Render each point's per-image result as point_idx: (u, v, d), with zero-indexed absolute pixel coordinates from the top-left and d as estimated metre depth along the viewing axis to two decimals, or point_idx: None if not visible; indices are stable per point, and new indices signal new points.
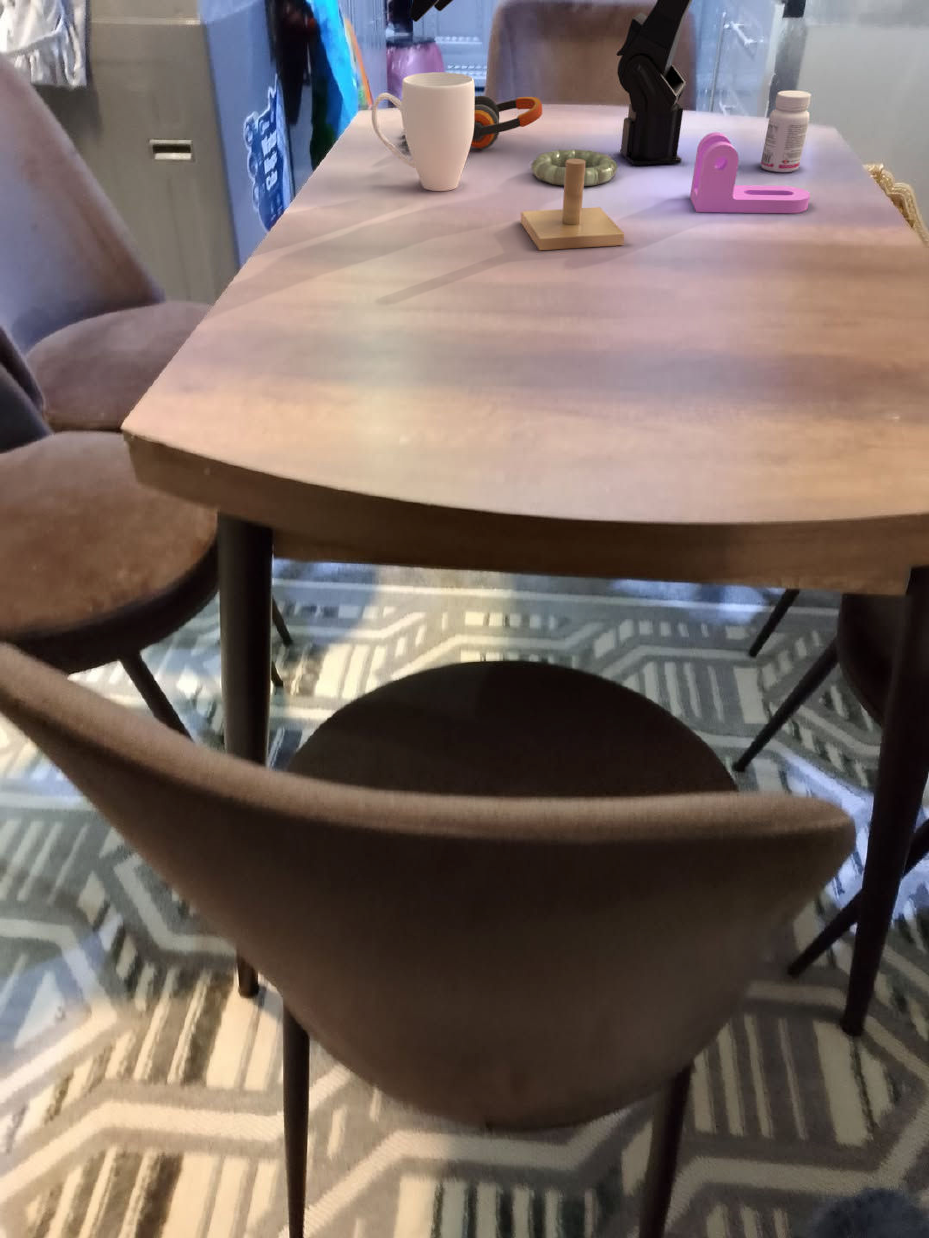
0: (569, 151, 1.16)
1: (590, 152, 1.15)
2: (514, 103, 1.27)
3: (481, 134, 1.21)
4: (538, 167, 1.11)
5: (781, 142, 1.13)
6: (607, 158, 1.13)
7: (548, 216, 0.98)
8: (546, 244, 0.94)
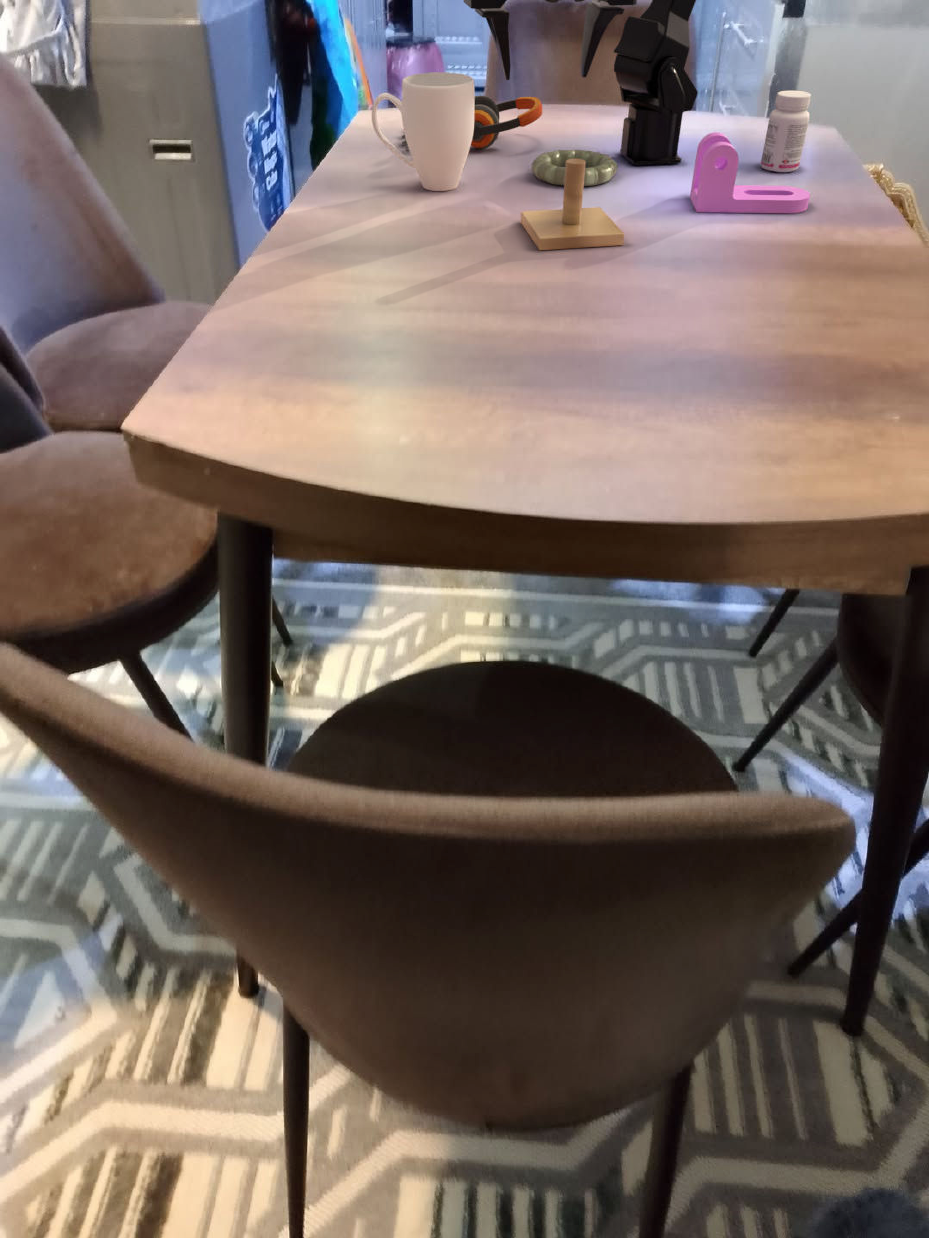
0: (569, 151, 1.16)
1: (590, 152, 1.15)
2: (514, 103, 1.27)
3: (481, 134, 1.21)
4: (538, 167, 1.11)
5: (781, 142, 1.13)
6: (607, 158, 1.13)
7: (548, 216, 0.98)
8: (546, 244, 0.94)
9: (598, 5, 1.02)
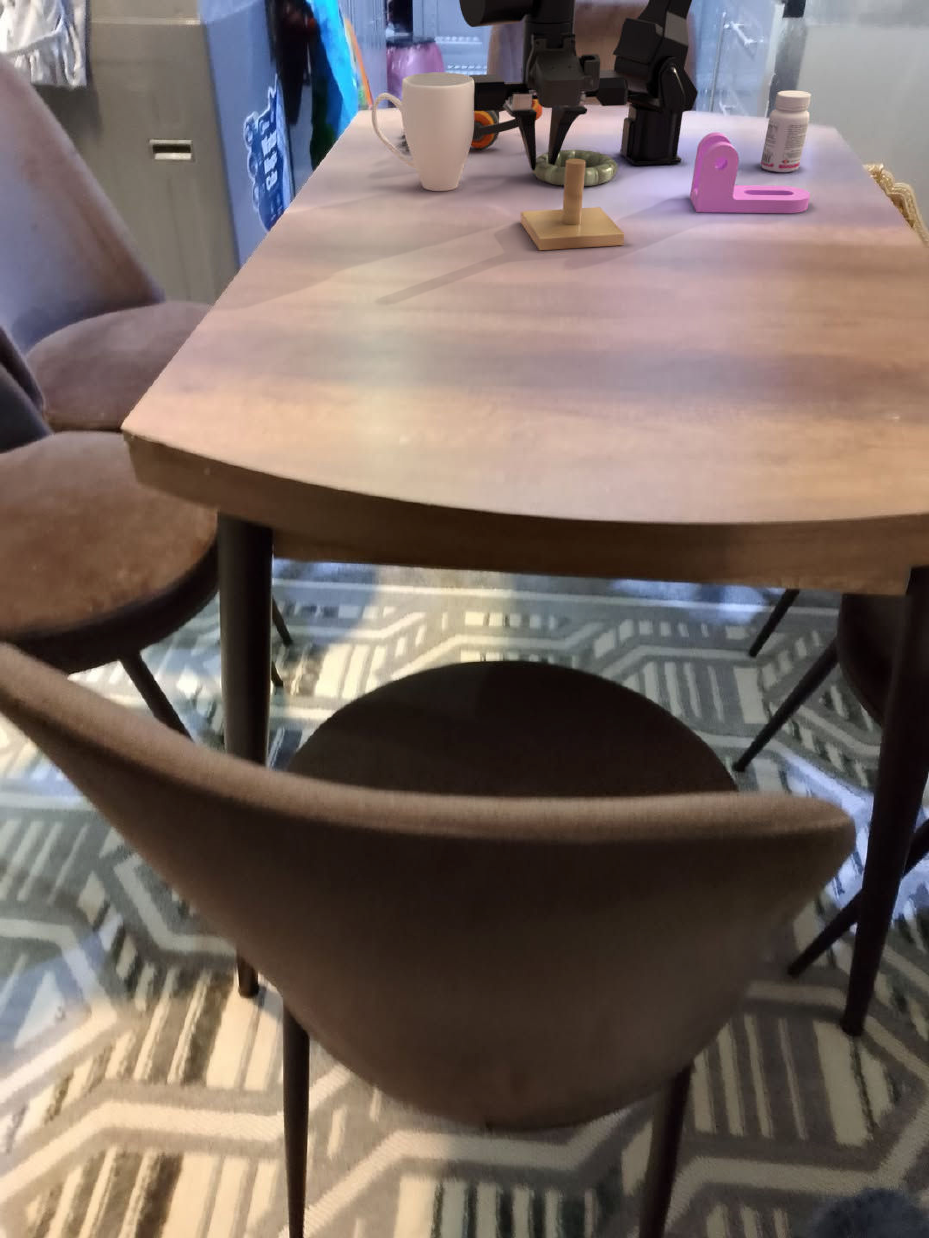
0: (569, 151, 1.16)
1: (590, 152, 1.15)
2: None
3: (481, 134, 1.21)
4: (538, 167, 1.11)
5: (781, 142, 1.13)
6: (607, 158, 1.13)
7: (548, 216, 0.98)
8: (546, 244, 0.94)
9: None
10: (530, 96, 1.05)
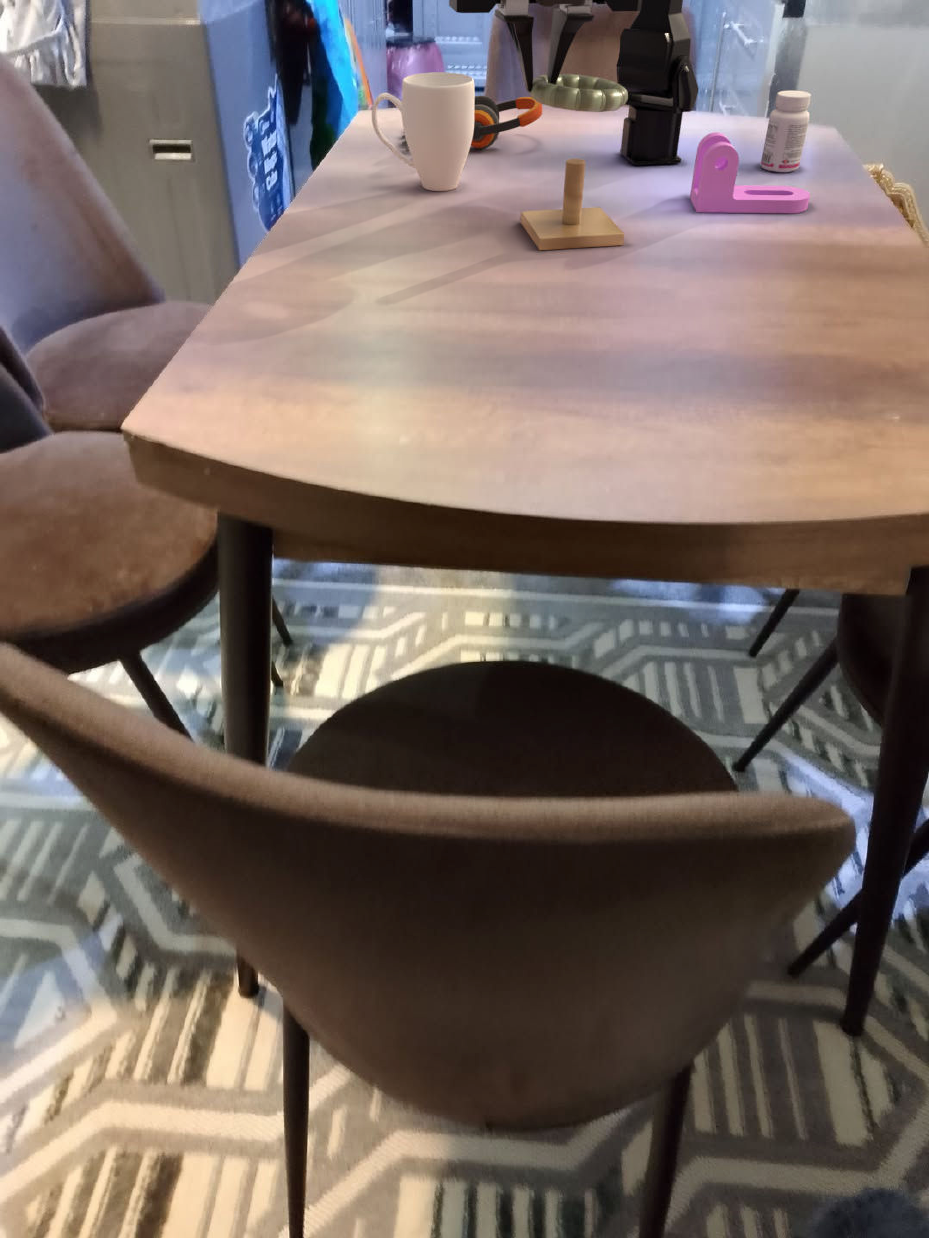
0: (573, 76, 0.99)
1: (597, 78, 0.99)
2: (514, 103, 1.27)
3: (481, 134, 1.21)
4: (536, 86, 0.95)
5: (781, 142, 1.13)
6: (617, 84, 0.97)
7: (548, 216, 0.98)
8: (546, 244, 0.94)
9: (565, 11, 0.92)
10: None
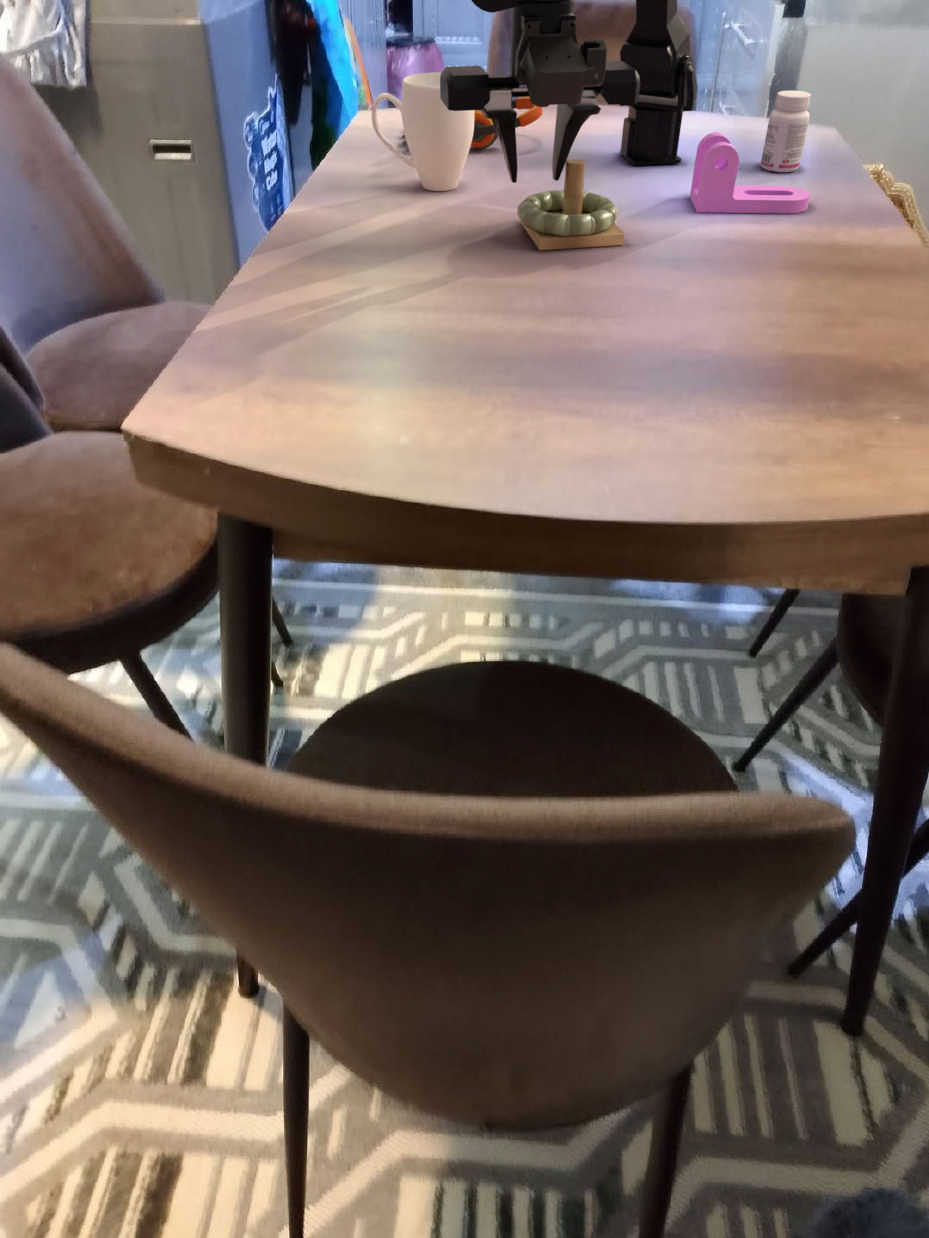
0: (561, 192, 0.99)
1: (586, 193, 0.98)
2: (514, 103, 1.27)
3: (481, 134, 1.21)
4: (524, 213, 0.94)
5: (781, 142, 1.13)
6: (606, 201, 0.96)
7: None
8: (546, 244, 0.94)
9: None
10: (509, 93, 0.86)
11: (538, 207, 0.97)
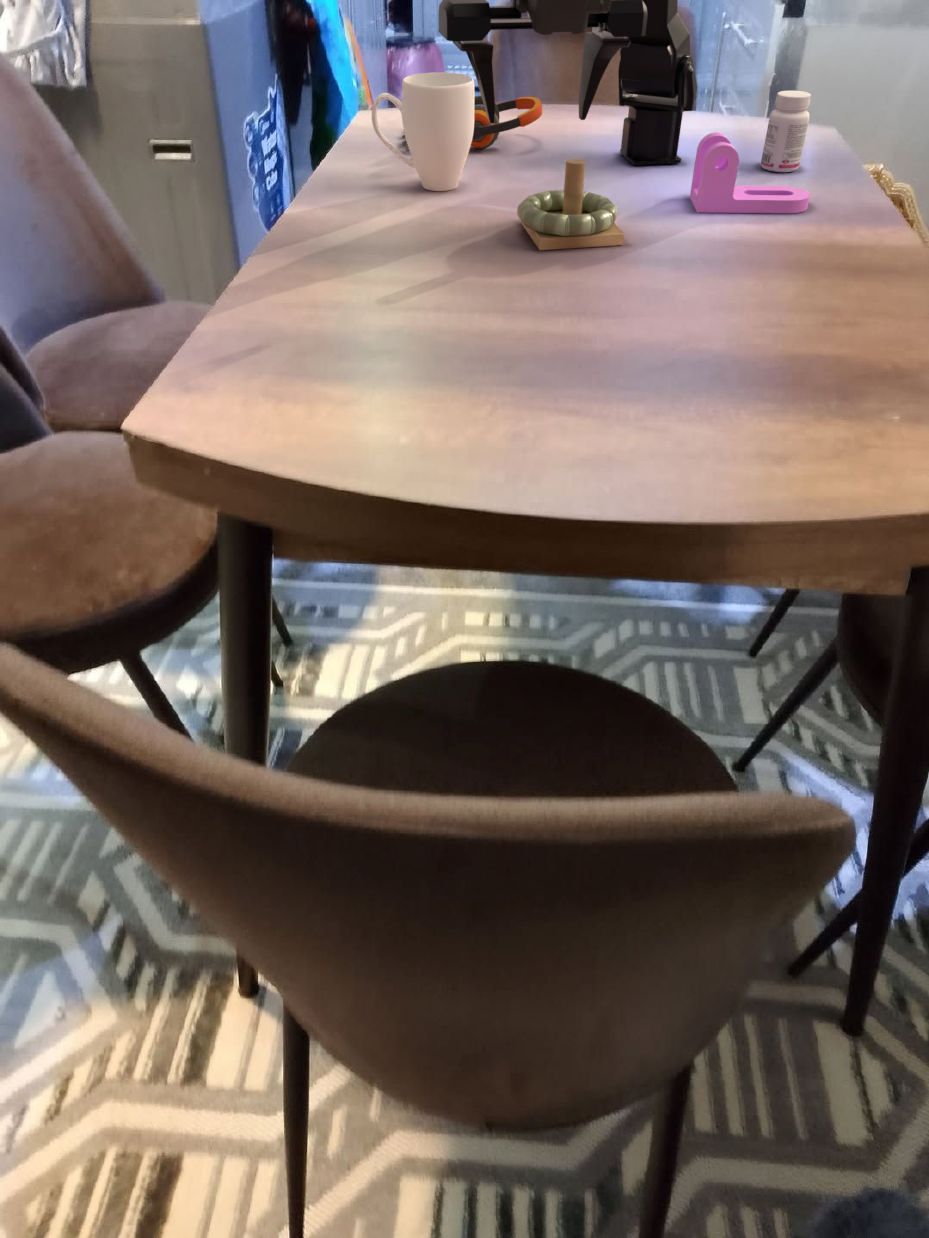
0: (561, 192, 0.99)
1: (586, 193, 0.98)
2: (514, 103, 1.27)
3: (481, 134, 1.21)
4: (524, 213, 0.94)
5: (781, 142, 1.13)
6: (606, 201, 0.96)
7: None
8: (546, 244, 0.94)
9: (599, 36, 0.85)
10: None
11: (538, 207, 0.97)
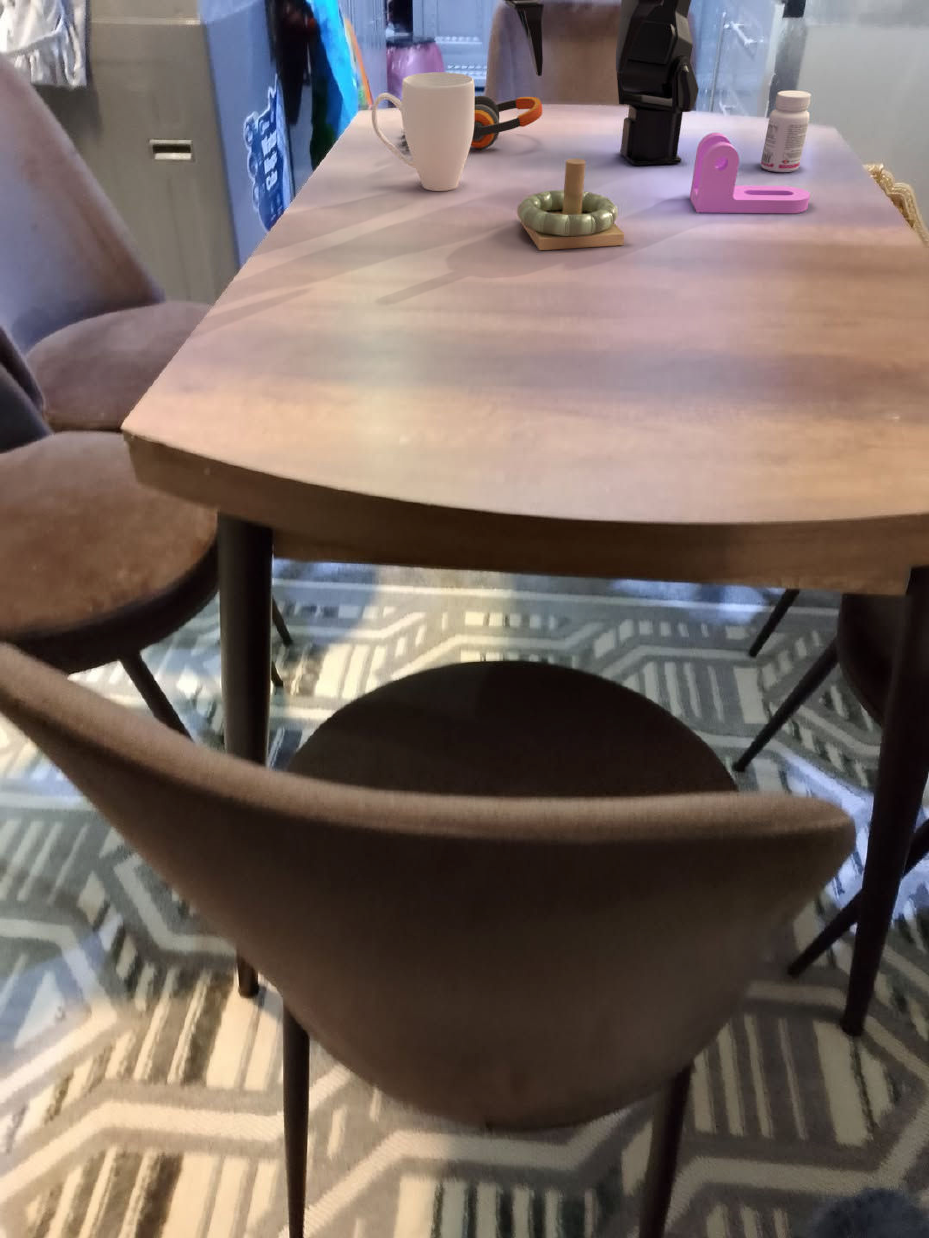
0: (561, 192, 0.99)
1: (586, 193, 0.98)
2: (514, 103, 1.27)
3: (481, 134, 1.21)
4: (524, 213, 0.94)
5: (781, 142, 1.13)
6: (606, 201, 0.96)
7: None
8: (546, 244, 0.94)
9: None
10: None
11: (538, 207, 0.97)
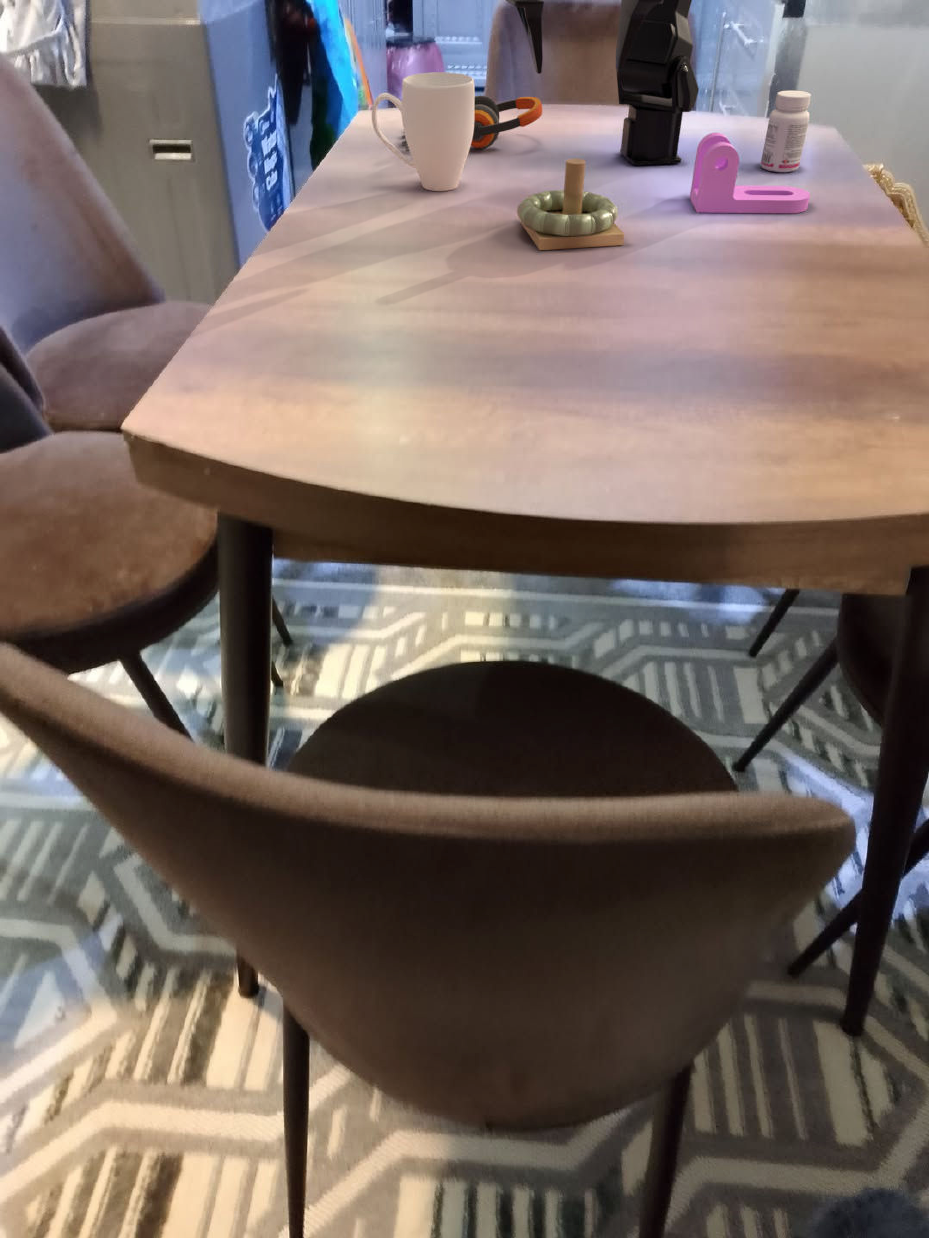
0: (561, 192, 0.99)
1: (586, 193, 0.98)
2: (514, 103, 1.27)
3: (481, 134, 1.21)
4: (524, 213, 0.94)
5: (781, 142, 1.13)
6: (606, 201, 0.96)
7: None
8: (546, 244, 0.94)
9: None
10: None
11: (538, 207, 0.97)
